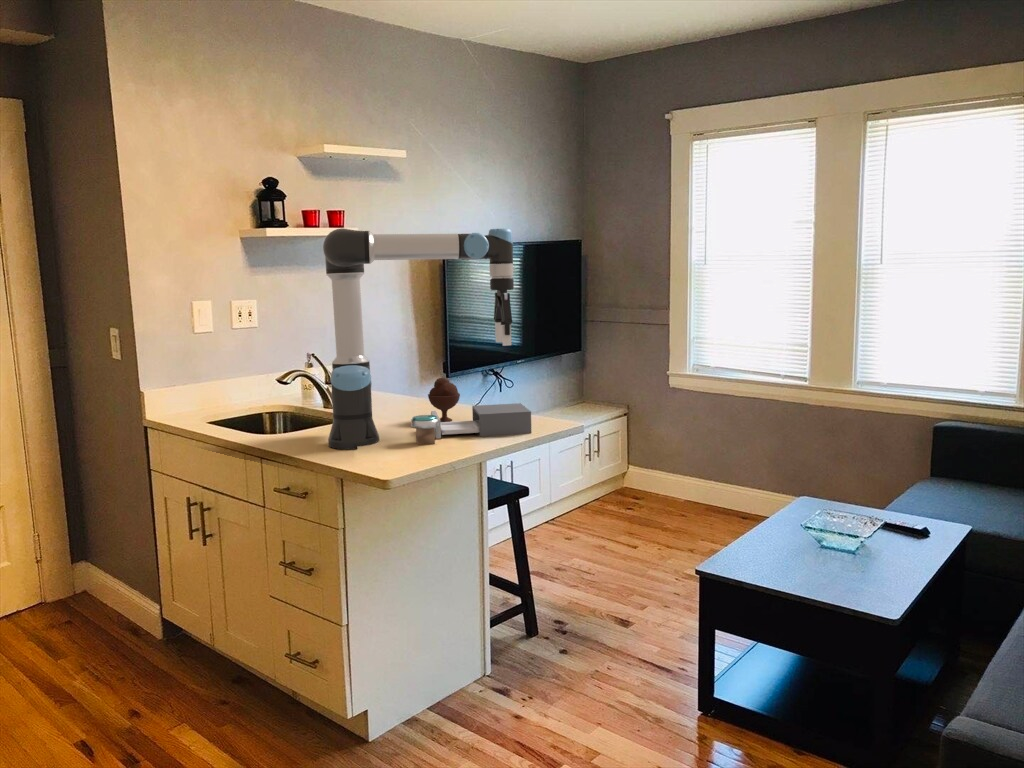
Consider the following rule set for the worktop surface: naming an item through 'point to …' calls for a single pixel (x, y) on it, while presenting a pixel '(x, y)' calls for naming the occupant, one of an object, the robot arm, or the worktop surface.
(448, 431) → the tray
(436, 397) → the ice cream bowl
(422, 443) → the block
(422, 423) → the disc
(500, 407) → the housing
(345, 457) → the worktop surface
